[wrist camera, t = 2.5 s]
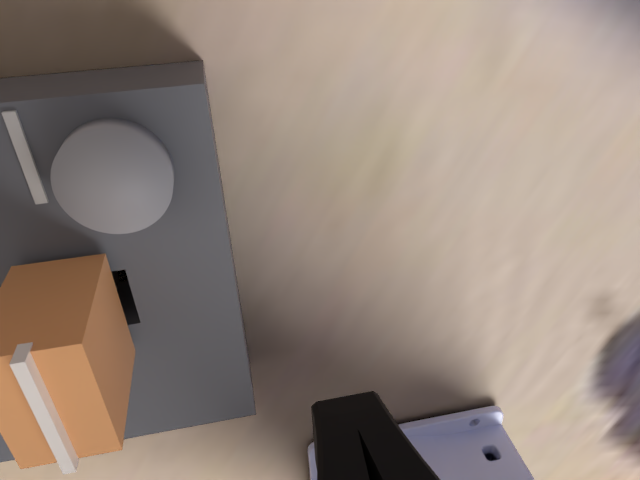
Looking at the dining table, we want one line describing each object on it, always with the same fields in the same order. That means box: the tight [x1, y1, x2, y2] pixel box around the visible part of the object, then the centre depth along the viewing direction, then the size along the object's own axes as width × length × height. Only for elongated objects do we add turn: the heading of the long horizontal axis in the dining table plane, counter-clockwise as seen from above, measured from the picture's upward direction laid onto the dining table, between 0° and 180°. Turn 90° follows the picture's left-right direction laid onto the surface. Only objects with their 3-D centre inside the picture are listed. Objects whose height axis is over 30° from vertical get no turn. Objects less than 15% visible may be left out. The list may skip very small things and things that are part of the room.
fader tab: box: [0, 253, 135, 474], centre depth 14 cm, size 2×4×6 cm, turn 2°
